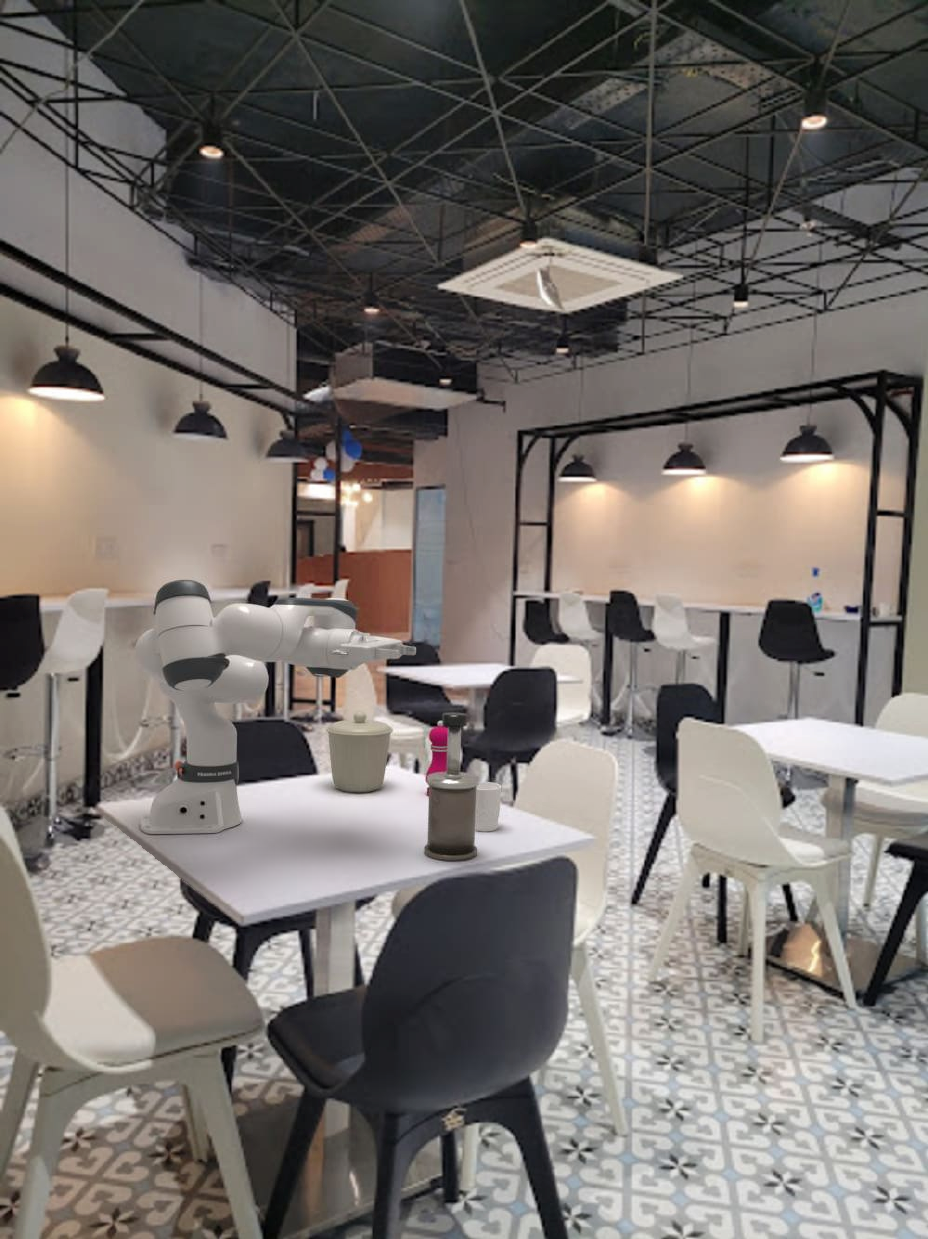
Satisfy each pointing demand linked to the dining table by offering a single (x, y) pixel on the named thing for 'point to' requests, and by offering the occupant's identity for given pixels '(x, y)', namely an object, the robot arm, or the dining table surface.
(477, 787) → the white cup
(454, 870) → the dining table surface
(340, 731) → the canister
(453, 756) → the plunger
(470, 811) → the grey thread spool
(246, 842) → the dining table surface
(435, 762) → the pepper mill
